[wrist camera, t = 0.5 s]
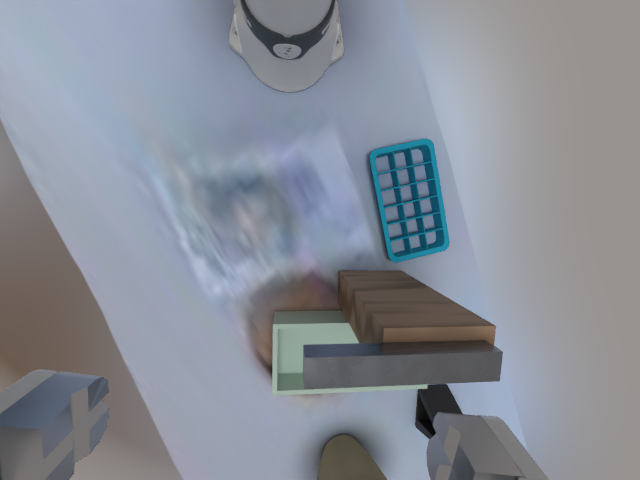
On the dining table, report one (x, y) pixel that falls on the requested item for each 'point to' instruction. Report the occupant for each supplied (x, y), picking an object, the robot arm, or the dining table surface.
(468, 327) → the walnut stand
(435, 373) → the gray rectangular bar
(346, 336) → the green tray
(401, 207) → the ice cube tray
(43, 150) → the dining table surface
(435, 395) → the phone stand
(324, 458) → the plant pot
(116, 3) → the dining table surface
